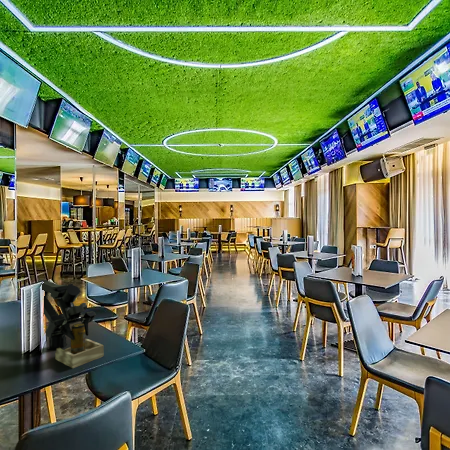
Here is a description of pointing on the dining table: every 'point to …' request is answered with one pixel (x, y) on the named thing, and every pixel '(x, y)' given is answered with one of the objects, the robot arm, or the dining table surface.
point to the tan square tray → (80, 354)
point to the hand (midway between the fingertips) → (80, 337)
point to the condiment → (78, 338)
